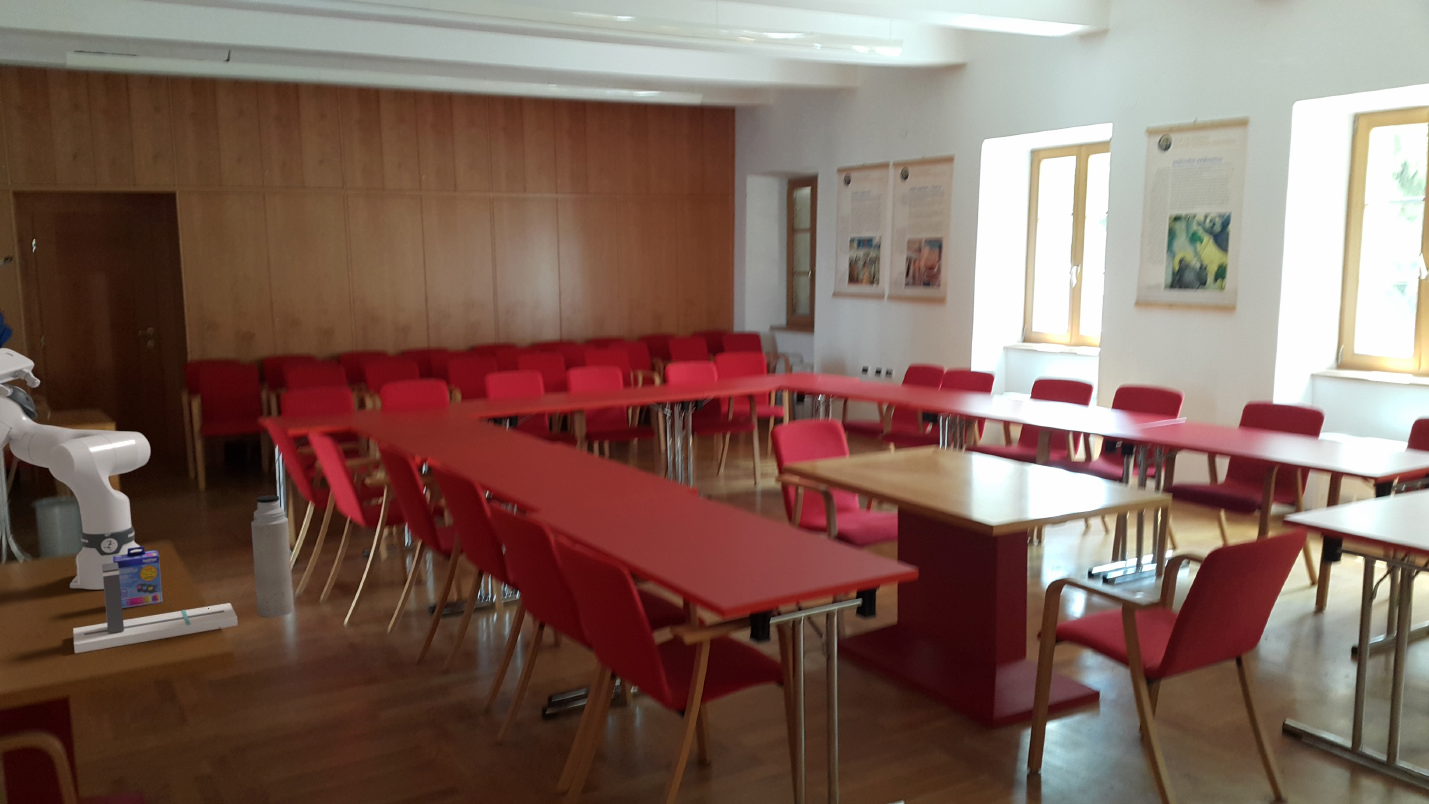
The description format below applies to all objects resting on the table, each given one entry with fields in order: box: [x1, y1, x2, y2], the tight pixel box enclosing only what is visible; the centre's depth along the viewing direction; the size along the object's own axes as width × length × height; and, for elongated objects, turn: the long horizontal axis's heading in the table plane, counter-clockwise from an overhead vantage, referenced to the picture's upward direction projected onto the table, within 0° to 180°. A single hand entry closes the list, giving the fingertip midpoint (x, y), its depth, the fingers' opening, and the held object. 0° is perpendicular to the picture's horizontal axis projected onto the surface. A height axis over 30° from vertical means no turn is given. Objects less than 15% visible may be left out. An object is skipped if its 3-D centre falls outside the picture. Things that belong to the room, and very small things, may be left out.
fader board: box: [72, 602, 239, 654], centre depth 238 cm, size 12×32×2 cm, turn 122°
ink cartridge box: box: [113, 545, 163, 609], centre depth 258 cm, size 10×6×14 cm, turn 124°
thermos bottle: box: [250, 494, 295, 619], centre depth 249 cm, size 8×8×28 cm
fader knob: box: [102, 563, 124, 633], centre depth 233 cm, size 6×3×14 cm, turn 32°
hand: (23, 389), depth 239 cm, fingers open, 8 cm apart
